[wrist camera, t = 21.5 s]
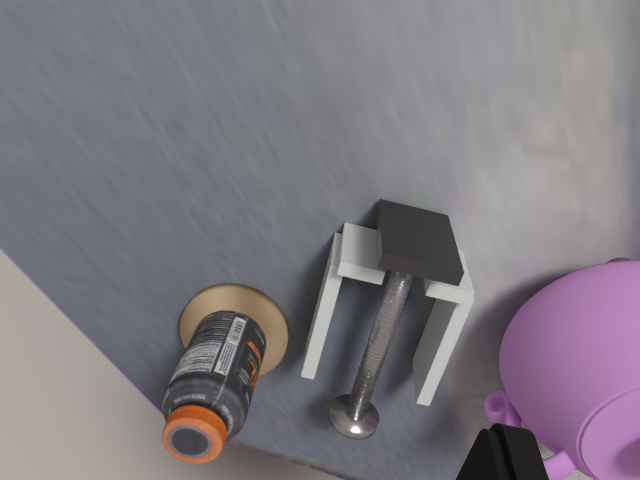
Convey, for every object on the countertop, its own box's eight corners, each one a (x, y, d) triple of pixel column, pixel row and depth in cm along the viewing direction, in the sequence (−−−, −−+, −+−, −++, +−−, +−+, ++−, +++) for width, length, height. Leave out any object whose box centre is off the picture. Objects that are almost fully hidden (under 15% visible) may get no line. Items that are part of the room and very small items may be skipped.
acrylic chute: (307, 336, 46) (299, 385, 41) (338, 220, 41) (332, 259, 36) (423, 363, 46) (430, 415, 41) (468, 251, 41) (482, 295, 36)
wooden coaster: (178, 357, 48) (174, 365, 47) (189, 272, 44) (185, 278, 43) (278, 380, 49) (276, 388, 48) (298, 298, 44) (297, 304, 44)
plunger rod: (325, 382, 48) (317, 457, 40) (380, 199, 39) (381, 252, 32) (381, 395, 48) (383, 472, 41) (447, 215, 40) (464, 272, 32)
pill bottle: (264, 371, 47) (233, 483, 37) (195, 360, 47) (146, 468, 37) (270, 313, 44) (238, 418, 34) (197, 302, 44) (144, 402, 34)
